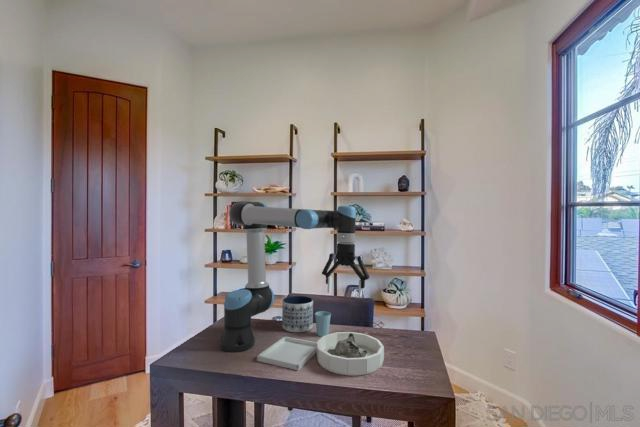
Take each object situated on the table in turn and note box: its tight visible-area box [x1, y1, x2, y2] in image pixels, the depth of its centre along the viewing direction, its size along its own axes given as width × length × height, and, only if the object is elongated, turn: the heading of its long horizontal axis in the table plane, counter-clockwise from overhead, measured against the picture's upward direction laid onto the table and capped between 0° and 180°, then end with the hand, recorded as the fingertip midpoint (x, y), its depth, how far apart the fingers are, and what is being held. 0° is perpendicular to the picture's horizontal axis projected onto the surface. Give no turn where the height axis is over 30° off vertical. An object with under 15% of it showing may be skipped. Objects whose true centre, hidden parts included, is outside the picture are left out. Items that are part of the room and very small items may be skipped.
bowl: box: [316, 331, 385, 377], centre depth 126 cm, size 26×26×6 cm
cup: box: [314, 310, 332, 338], centre depth 152 cm, size 8×8×10 cm
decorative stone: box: [327, 333, 367, 358], centre depth 126 cm, size 16×9×10 cm, turn 82°
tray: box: [256, 336, 317, 371], centre depth 130 cm, size 19×22×2 cm
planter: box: [281, 295, 314, 333], centre depth 162 cm, size 16×16×14 cm
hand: (344, 294), depth 129 cm, fingers open, 13 cm apart
